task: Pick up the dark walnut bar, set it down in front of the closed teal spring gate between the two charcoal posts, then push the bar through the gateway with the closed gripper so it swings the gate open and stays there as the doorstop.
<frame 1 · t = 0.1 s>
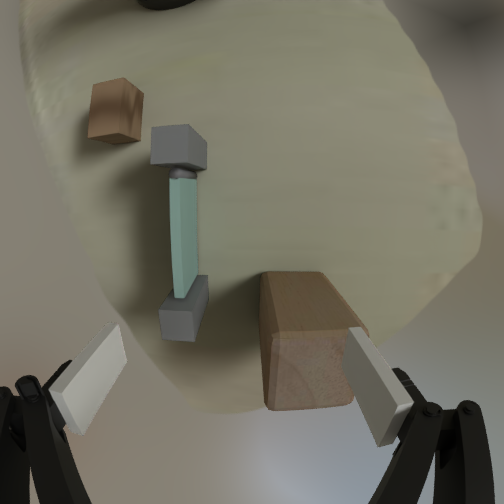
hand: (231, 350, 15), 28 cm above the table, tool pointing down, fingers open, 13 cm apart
wooden block: (290, 299, 44), on the table
hinge post: (193, 156, 39), on the table
doorstop bar: (127, 118, 37), on the table
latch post: (195, 287, 43), on the table
gate: (185, 228, 36), point 5 cm above the table, hinge at 0.0°
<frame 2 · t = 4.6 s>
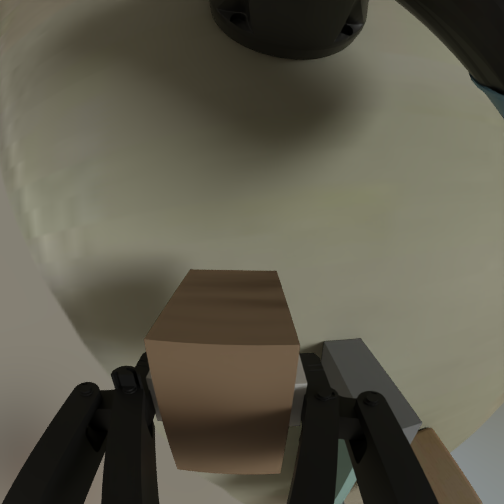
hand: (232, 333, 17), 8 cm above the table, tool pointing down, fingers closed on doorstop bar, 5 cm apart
wooden block: (397, 449, 32), on the table
hinge post: (339, 356, 26), on the table
doorstop bar: (233, 331, 17), point 8 cm above the table, touching gripper
gate: (336, 452, 23), point 5 cm above the table, hinge at 0.0°
when the fingers open (0 cm above the table, at t = 9.2 s): doorstop bar stays where it is, on the table.
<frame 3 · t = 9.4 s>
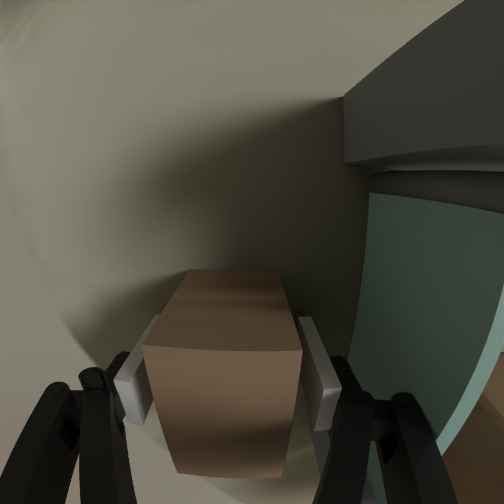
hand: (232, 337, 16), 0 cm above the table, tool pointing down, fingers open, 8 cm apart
wooden block: (462, 393, 19), on the table
hinge post: (375, 133, 14), on the table
doorstop bar: (234, 332, 17), on the table
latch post: (338, 412, 19), on the table
gate: (405, 343, 11), point 5 cm above the table, hinge at 0.1°, touching gripper, hand
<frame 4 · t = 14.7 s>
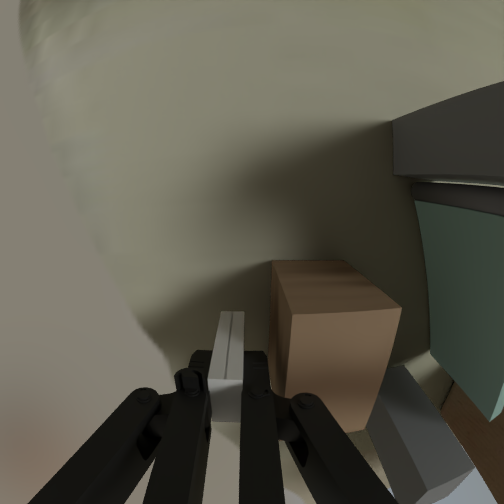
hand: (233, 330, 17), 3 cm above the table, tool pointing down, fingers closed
wooden block: (477, 371, 22), on the table
hinge post: (415, 151, 17), on the table
doorstop bar: (304, 314, 19), on the table, touching gripper
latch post: (380, 385, 21), on the table
gate: (471, 302, 13), point 5 cm above the table, hinge at 20.0°
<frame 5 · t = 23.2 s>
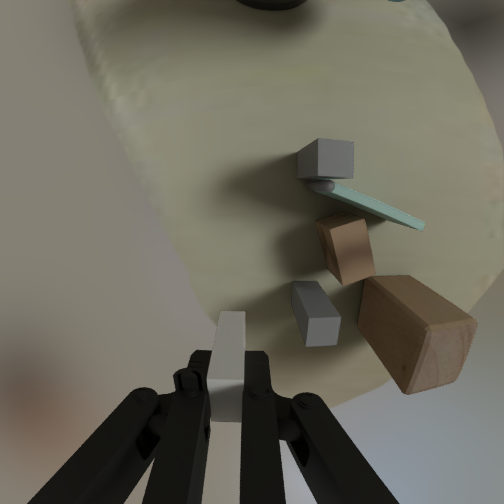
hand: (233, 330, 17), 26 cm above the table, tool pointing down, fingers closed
wooden block: (383, 300, 45), on the table
hinge post: (310, 165, 40), on the table
doorstop bar: (336, 240, 43), on the table
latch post: (304, 292, 45), on the table
gate: (363, 203, 36), point 5 cm above the table, hinge at 73.1°
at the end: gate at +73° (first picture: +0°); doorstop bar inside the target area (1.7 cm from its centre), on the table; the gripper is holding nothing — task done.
